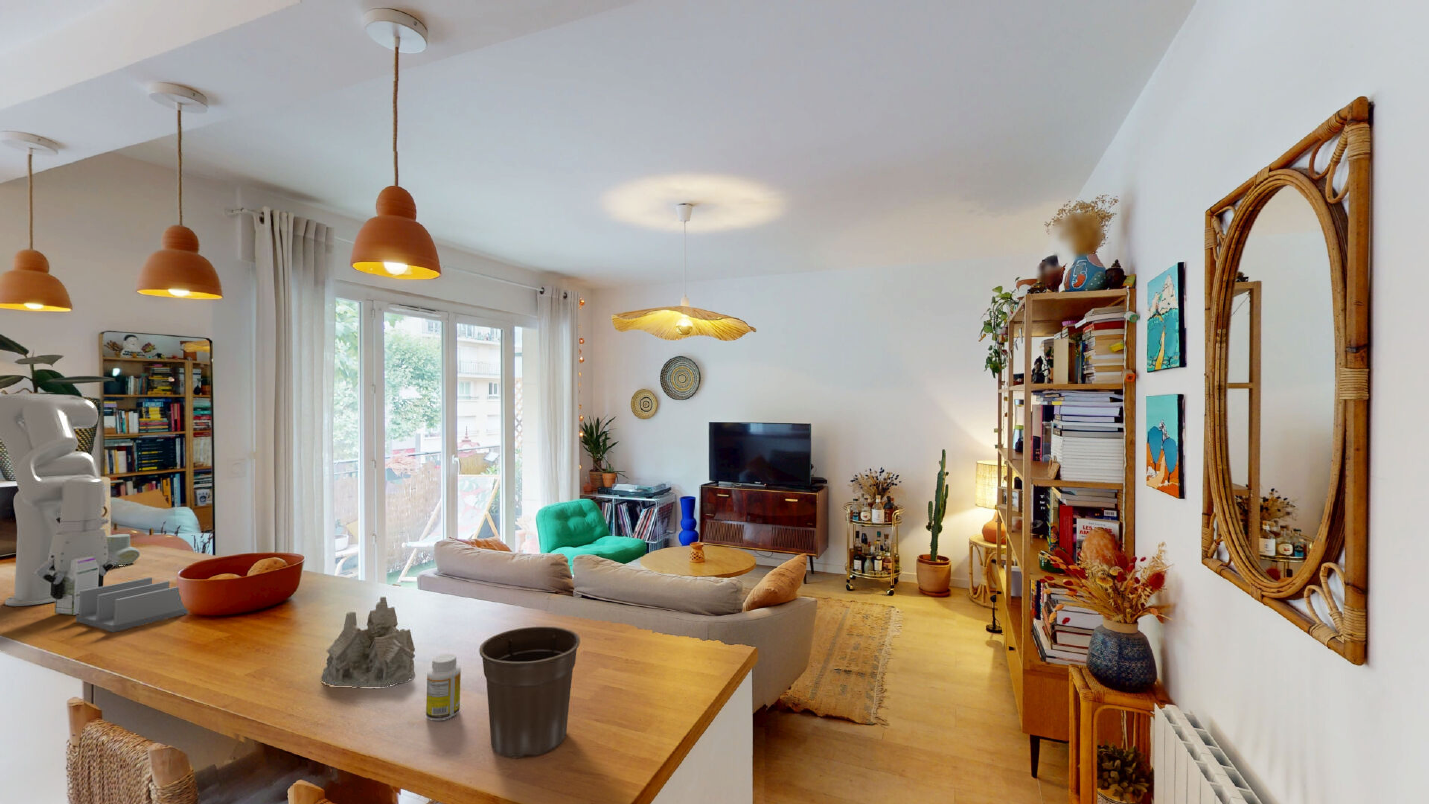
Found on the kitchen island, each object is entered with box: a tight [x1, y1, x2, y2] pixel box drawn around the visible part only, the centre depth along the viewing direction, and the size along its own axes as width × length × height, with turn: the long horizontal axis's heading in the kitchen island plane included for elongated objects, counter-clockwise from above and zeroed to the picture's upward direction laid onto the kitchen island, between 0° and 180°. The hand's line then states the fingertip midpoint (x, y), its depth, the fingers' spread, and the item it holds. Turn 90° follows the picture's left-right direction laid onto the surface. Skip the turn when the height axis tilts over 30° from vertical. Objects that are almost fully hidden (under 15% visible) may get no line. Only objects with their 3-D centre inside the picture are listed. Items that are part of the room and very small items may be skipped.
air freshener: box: [103, 533, 141, 566], centre depth 202 cm, size 11×8×10 cm
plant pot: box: [478, 626, 581, 759], centre depth 101 cm, size 16×16×16 cm
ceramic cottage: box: [320, 596, 416, 688], centre depth 123 cm, size 16×16×15 cm
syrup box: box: [54, 556, 99, 616], centre depth 156 cm, size 6×6×14 cm
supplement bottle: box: [425, 653, 462, 721], centre depth 108 cm, size 6×6×10 cm
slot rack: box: [75, 576, 189, 633], centre depth 153 cm, size 17×15×8 cm
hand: (77, 594), depth 156 cm, fingers closed on syrup box, 6 cm apart
